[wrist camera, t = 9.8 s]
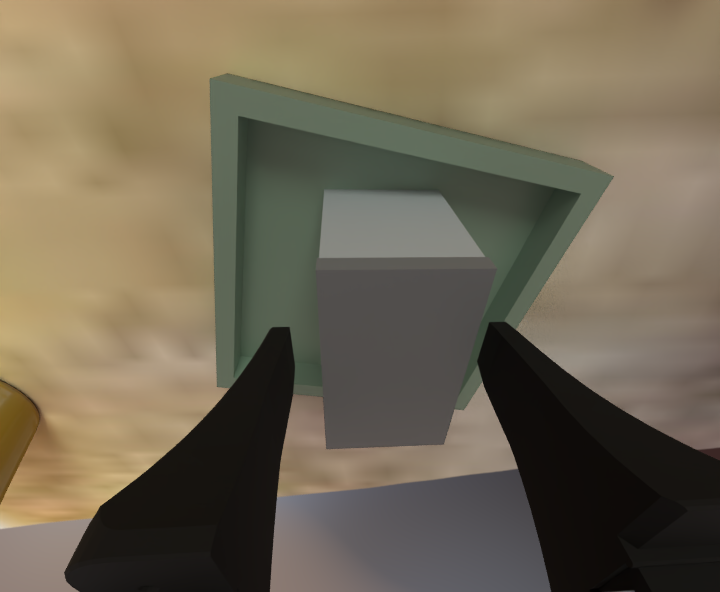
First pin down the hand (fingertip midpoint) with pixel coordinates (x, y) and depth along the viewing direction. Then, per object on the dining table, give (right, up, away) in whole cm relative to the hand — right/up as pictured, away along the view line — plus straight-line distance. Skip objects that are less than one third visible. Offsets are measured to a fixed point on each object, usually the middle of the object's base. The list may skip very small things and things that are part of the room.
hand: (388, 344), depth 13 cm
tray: (0, +3, +4) cm, 5 cm away
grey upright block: (0, +3, +3) cm, 4 cm away
